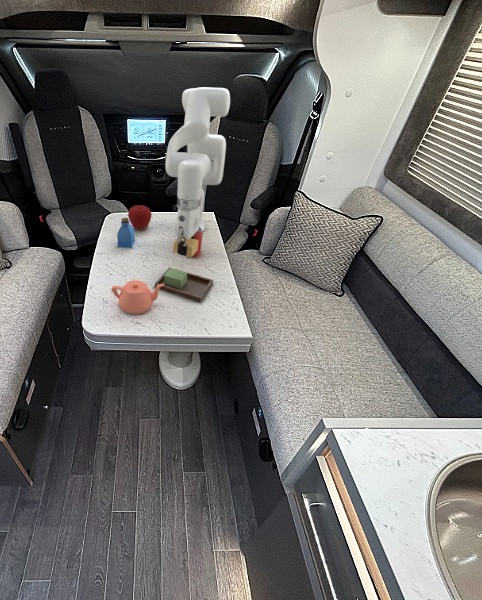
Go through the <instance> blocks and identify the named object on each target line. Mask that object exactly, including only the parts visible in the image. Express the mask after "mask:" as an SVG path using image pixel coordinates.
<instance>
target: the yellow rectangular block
mask: <svg viewBox="0 0 482 600" xmlns="http://www.w3.org/2000/svg"><path fill="white" fill-rule="evenodd" d="M181 240H182V241H183V242H184V239H183V238H181ZM186 245H187V253H186V256H185V257H188V258H193V257H192V256H193V255H194V254H195V253H196V251H197V250H198V240H195V239H191V238H190V239H187V242H186ZM172 248H173V251H172V252H173V253H174V254H177V255H179V254H178V253H177V251H178V245H177V242H176V240H174V242H173V247H172Z"/></svg>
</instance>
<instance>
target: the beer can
mask: <svg viewBox="0 0 482 600" xmlns="http://www.w3.org/2000/svg"><path fill="white" fill-rule="evenodd" d="M194 239H195V240H198V250H197V251H196V253H195V254H194V255H193V256H192V257H191V258H197V257H200V256H201V254H202V253H201V252H202V244H203V243H202V242H203V231H202V229H201V228H200V227H199V229H198V231H197V232H196V233H195V236H194Z"/></svg>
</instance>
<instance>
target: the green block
mask: <svg viewBox="0 0 482 600" xmlns="http://www.w3.org/2000/svg"><path fill="white" fill-rule="evenodd" d="M172 268H173V267H170V269H169V271H168V272H167V273H166V274H165V275H164V284H166V285H169V286H173V287H176V288H179V289H181V288H182V287H183V285H184V284H185V283H186V282H187V273H188V272H187V271H184V272H183V270H180V269H177V268H173V269H172ZM176 269H177V270H176ZM179 270H180V271H179ZM186 272H187V273H186Z"/></svg>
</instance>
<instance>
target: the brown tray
mask: <svg viewBox="0 0 482 600" xmlns="http://www.w3.org/2000/svg"><path fill="white" fill-rule="evenodd" d="M170 268H172V269H174V268H173V267H170V266H169V267H168V268H167V269H166V271H164V273H162V275H161V276H160V277H159V278H158V279H157V280H156V282H155V283H154V289H155V288H156V286H157V285H159V284H164V275H165V274H166V273H167V272H168V271H169V269H170ZM175 269H176V270H179V271H181V270H180V269H177V268H175ZM182 271H183V270H182ZM183 272H186V273H187V282H186V283H185V284H184V285H183V287H182V288H181V289H179V288H176V287H173V286H169V285H166V284H164V285H163V286H162V287H160V289H159V291H163V292H166V293H169V294H172V295H176V296H178V297H182V298H185V299H188V300H191V301H195V302H197V303H202V302H203V299H204V298H205V297H206V295H207V293H208V292H209V291H210V289H211V288H212V286H213V285H214V279H211V278H207V277H204V276H200V275H197V274H195V273H191V272H188V271H183Z"/></svg>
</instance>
